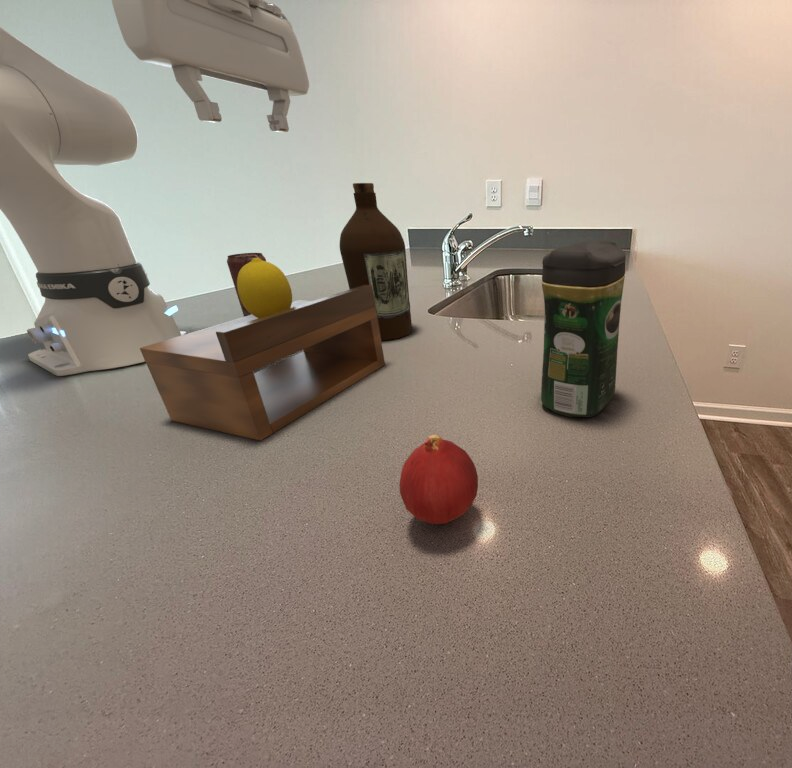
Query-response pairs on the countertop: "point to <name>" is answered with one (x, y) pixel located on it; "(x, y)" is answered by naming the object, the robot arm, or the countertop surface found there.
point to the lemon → (263, 288)
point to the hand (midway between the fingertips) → (248, 127)
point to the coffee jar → (581, 326)
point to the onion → (438, 481)
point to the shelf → (262, 345)
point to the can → (235, 266)
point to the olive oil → (377, 262)
